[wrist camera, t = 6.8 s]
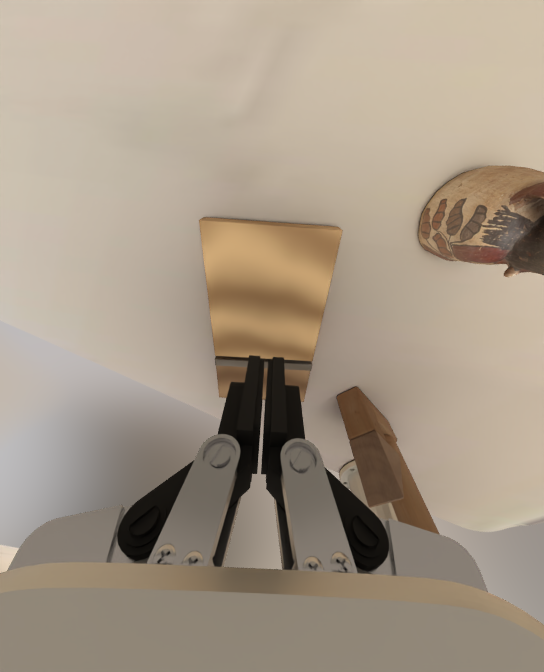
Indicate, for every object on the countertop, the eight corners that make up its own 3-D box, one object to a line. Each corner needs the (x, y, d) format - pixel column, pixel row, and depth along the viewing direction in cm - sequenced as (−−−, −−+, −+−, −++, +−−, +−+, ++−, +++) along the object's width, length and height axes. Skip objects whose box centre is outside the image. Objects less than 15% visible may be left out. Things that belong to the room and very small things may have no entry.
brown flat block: (302, 392, 33) (304, 402, 32) (221, 388, 33) (218, 397, 31) (310, 355, 29) (312, 364, 28) (218, 350, 29) (214, 359, 28)
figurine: (423, 269, 23) (536, 331, 13) (410, 198, 20) (551, 209, 10) (503, 233, 21) (708, 273, 11) (504, 147, 18) (802, 95, 8)
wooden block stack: (356, 384, 32) (427, 554, 17) (388, 420, 37) (466, 580, 22) (334, 395, 34) (382, 562, 19) (367, 429, 38) (428, 585, 23)
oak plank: (310, 353, 29) (312, 361, 28) (217, 347, 29) (215, 355, 27) (338, 226, 20) (342, 230, 19) (203, 217, 20) (199, 220, 18)
